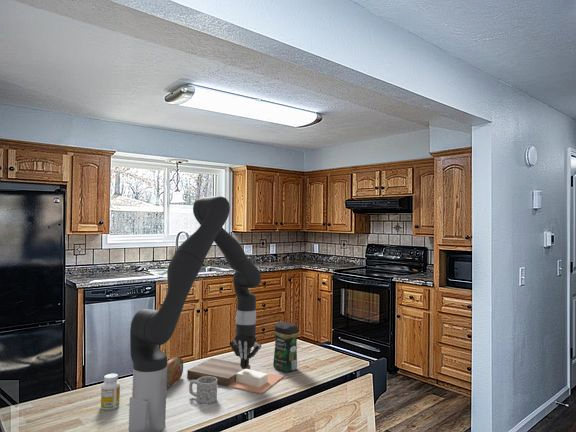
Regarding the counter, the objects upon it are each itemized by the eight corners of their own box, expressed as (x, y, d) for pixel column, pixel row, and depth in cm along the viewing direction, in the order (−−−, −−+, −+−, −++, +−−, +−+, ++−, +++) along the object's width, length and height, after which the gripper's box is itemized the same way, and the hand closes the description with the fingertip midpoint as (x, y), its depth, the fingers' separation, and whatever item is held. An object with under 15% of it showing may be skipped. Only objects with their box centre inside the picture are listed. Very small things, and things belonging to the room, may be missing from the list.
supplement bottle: (113, 401, 138) (114, 371, 138) (122, 406, 135) (123, 375, 135) (97, 406, 134) (98, 375, 134) (106, 412, 131) (107, 380, 131)
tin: (164, 392, 147) (165, 367, 147) (156, 391, 148) (156, 366, 148) (183, 376, 162) (184, 354, 162) (176, 375, 162) (176, 353, 162)
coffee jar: (269, 367, 174) (271, 322, 174) (283, 363, 180) (284, 319, 180) (286, 374, 167) (288, 326, 167) (300, 369, 173) (301, 323, 173)
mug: (220, 398, 143) (221, 378, 143) (210, 405, 137) (210, 385, 137) (194, 393, 147) (195, 373, 147) (183, 400, 140) (184, 380, 140)
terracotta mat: (261, 394, 147) (261, 392, 147) (228, 386, 153) (228, 385, 153) (283, 377, 164) (283, 376, 164) (252, 371, 169) (252, 370, 169)
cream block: (258, 387, 152) (259, 378, 152) (236, 381, 157) (236, 373, 157) (267, 382, 157) (268, 373, 157) (245, 376, 162) (245, 368, 162)
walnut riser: (228, 386, 153) (228, 378, 153) (187, 378, 160) (187, 370, 160) (250, 372, 167) (250, 365, 168) (211, 365, 175) (211, 358, 175)
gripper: (225, 321, 159) (224, 368, 159) (256, 326, 154) (255, 374, 153) (235, 317, 166) (234, 362, 166) (266, 321, 160) (265, 368, 160)
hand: (244, 368), depth 159 cm, fingers closed
